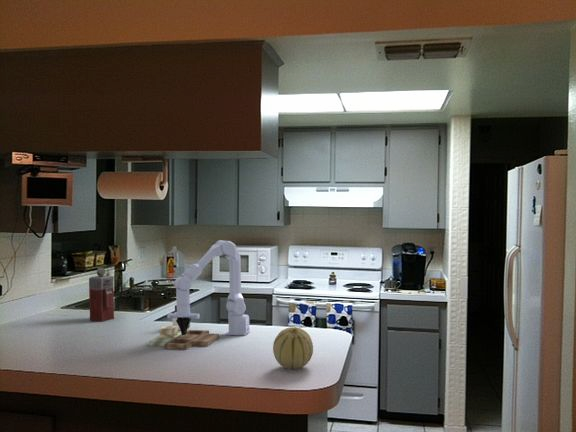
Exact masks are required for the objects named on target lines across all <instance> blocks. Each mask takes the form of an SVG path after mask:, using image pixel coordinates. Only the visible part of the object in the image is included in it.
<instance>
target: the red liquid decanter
mask: <svg viewBox="0 0 576 432" xmlns="http://www.w3.org/2000/svg"><path fill="white" fill-rule="evenodd" d="M105 274H106V269H105V268H104V267H99V268H97V269H96V276H92V277H89V278H88V291H89V295H88V296H89V298H88V300H89V321H90V322H99V323H100V322H101V323H102V322H106V321H111V320H113V319H114V320H115V303H114V302H115V300H114V299H115V298H114V297H115V296H114V295H115V294H114V277H113V276H112V275H105Z"/></svg>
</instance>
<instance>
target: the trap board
mask: <svg viewBox="0 0 576 432" xmlns="http://www.w3.org/2000/svg"><path fill="white" fill-rule="evenodd" d="M219 339H220V333H210V329H209V330H208V329H207V330H204V329H203V330H202V329H188V330H187V333H186V335H182V334H181V331H178V335H177V336H175V337H174V338H160V334H159V335H158V336H155V337H154V338H152V339H150V340H148V346H151V347H164V349H165V350H188V349H190V348H192V347H209V346H211V345H212V344H213V343H215V342H217V341H218V340H219Z"/></svg>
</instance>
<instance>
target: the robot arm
mask: <svg viewBox="0 0 576 432" xmlns="http://www.w3.org/2000/svg"><path fill="white" fill-rule="evenodd" d="M221 256H223V257H225V258H226V259H227V260H229V261H228V266H229V267H228V268H229V269H228V271H229V274H228V276H229V278H228V279H229V295H228V296H227V301H226V304H225V308H226V310H227V311H228V313H227V314H228V315H227V316H228V332H226V333H225V335H226V336H230V335H231V336H246V335H247V334H248V333H250V332H251V330H250V316H249V315H248V314H245V311H246V310H247V307H246V304H245V298H244V297H243V294H242V270H241V269H242V265H241V263H242V261H241V254H240V252H239V250H238V248H237V245H236V244H235V243H234V242H232V241H230V240H221V239H219V240H217V241H216V242H215V243H214V244H212V245H211V247H210V248H209V249H208V250H207V251H206V252H205V254H204V255H203V256H202V257H201V258H200V259H199V260H198V262H197V263H192V264H189V265H188V268H187V269H186V270H185V271H184V272H183V273H181V274H180V275H181V276H178V277H176V279H175V281H174V283H173V285H174V287H175V291H176V292H175V293H176V295H175V296H176V300H175V301H176V305H177V313H175V312H169V313H167V314H166V315H167V319H173V318H177V320H176V322H177V324H178V325H179V328H180V330H179V331H180V332H181V334H182V335H186V333H187V331H188V330H187V328H188V325H189V322H190V323H191V320H192V319H196V320H199V319H201V318H200V316H201V315H200V314H201V313H193V312H191V300H190V299H191V298H190V297H191V296H190V289H191V287H192V284H193V282H195V281H196V279H197V278H199V276H200V275H201V274H202V273H203V269H204V268H205V267H206V266H207V265H208V264H210V262H211V261H212V260H213V259H215V257H221Z"/></svg>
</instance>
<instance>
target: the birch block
mask: <svg viewBox="0 0 576 432" xmlns="http://www.w3.org/2000/svg"><path fill="white" fill-rule="evenodd" d="M178 332H179V330H178V326H173V325H164V326H162V327H160V328H159V335H160V338H174V337H175V336H177V335H178Z"/></svg>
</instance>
